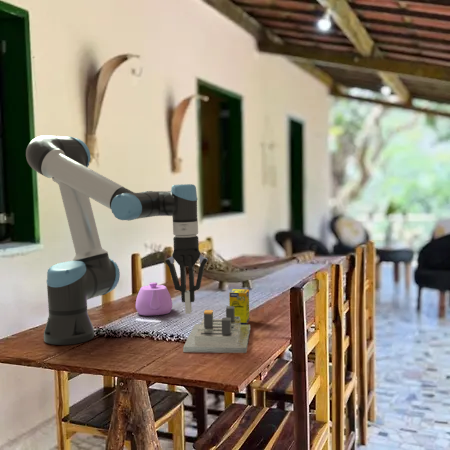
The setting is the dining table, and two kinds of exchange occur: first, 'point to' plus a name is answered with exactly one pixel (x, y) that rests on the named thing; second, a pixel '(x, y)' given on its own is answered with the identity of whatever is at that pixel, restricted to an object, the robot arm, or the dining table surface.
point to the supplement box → (240, 304)
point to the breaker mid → (208, 318)
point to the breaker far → (230, 312)
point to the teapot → (153, 300)
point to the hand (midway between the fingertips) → (188, 312)
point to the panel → (219, 347)
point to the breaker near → (226, 325)
